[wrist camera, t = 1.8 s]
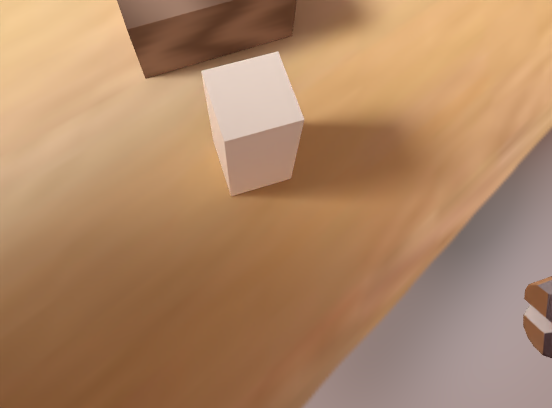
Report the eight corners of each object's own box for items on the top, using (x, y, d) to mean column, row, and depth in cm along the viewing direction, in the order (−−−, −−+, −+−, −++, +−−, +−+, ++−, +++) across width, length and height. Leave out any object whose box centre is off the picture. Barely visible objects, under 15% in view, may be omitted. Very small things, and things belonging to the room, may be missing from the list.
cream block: (230, 196, 34) (224, 141, 25) (213, 140, 35) (201, 70, 26) (290, 178, 34) (304, 119, 26) (271, 124, 36) (278, 51, 27)
